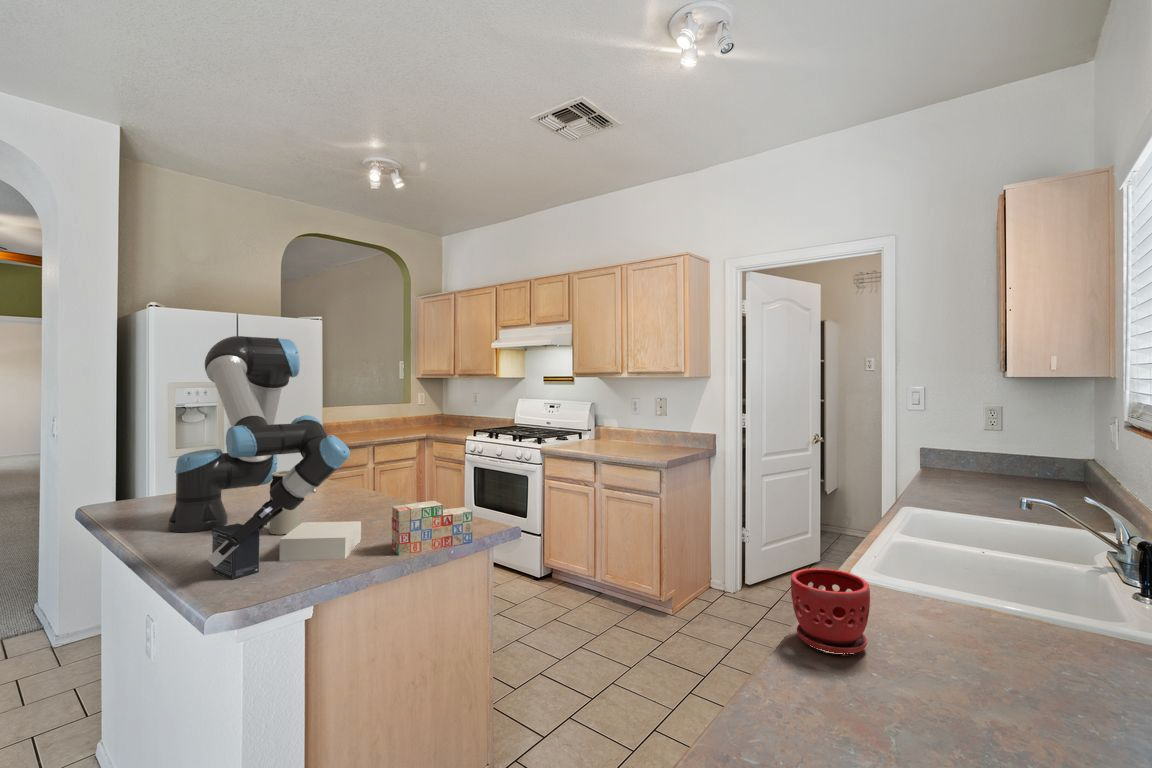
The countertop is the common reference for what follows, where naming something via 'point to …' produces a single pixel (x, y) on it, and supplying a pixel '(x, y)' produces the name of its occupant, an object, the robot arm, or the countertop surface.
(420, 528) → the stack of blocks
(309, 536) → the cream block
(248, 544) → the small box
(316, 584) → the countertop surface
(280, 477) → the travel mug
